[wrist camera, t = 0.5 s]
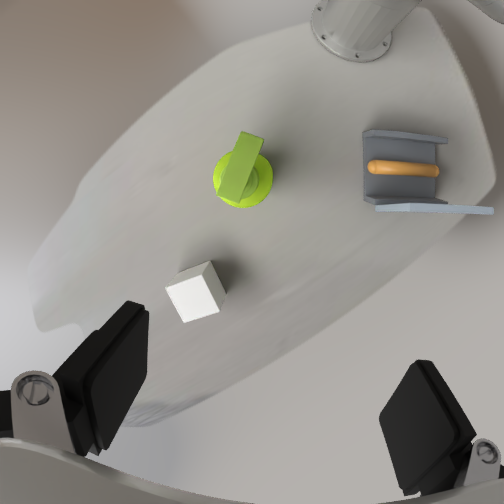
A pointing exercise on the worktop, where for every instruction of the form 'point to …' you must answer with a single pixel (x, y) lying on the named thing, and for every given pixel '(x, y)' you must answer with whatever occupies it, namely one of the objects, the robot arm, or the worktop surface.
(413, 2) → the robot arm
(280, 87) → the worktop surface
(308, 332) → the worktop surface
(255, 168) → the soap dispenser
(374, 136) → the cable duct
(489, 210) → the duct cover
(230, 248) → the worktop surface
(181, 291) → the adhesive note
